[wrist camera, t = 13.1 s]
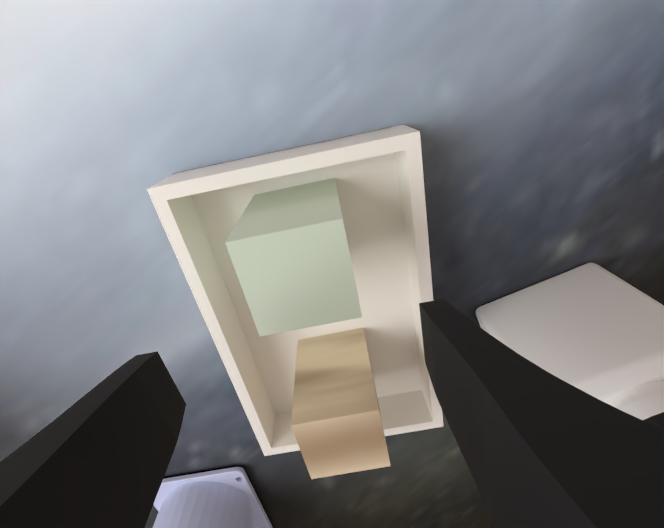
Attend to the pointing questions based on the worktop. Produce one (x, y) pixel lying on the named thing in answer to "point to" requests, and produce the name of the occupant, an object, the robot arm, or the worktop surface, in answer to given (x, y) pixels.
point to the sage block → (295, 259)
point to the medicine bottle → (589, 336)
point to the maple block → (337, 406)
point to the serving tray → (367, 261)
